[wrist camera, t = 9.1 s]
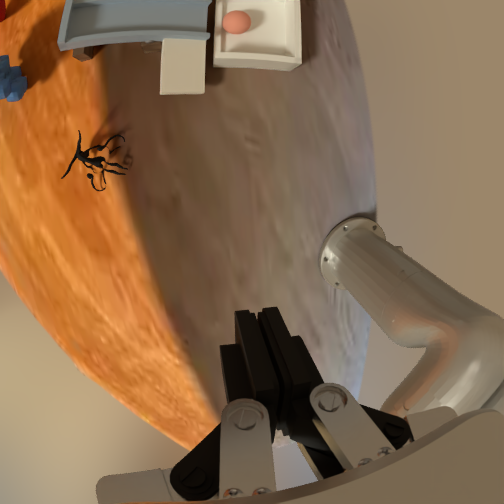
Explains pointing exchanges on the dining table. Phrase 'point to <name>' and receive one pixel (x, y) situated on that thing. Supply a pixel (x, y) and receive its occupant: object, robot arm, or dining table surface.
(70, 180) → the dining table surface
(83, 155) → the creature
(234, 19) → the ball
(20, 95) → the grapes
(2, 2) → the strawberry
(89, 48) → the post
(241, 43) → the tray
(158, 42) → the pivot stand
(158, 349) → the dining table surface
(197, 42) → the lever
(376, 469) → the robot arm
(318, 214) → the dining table surface
